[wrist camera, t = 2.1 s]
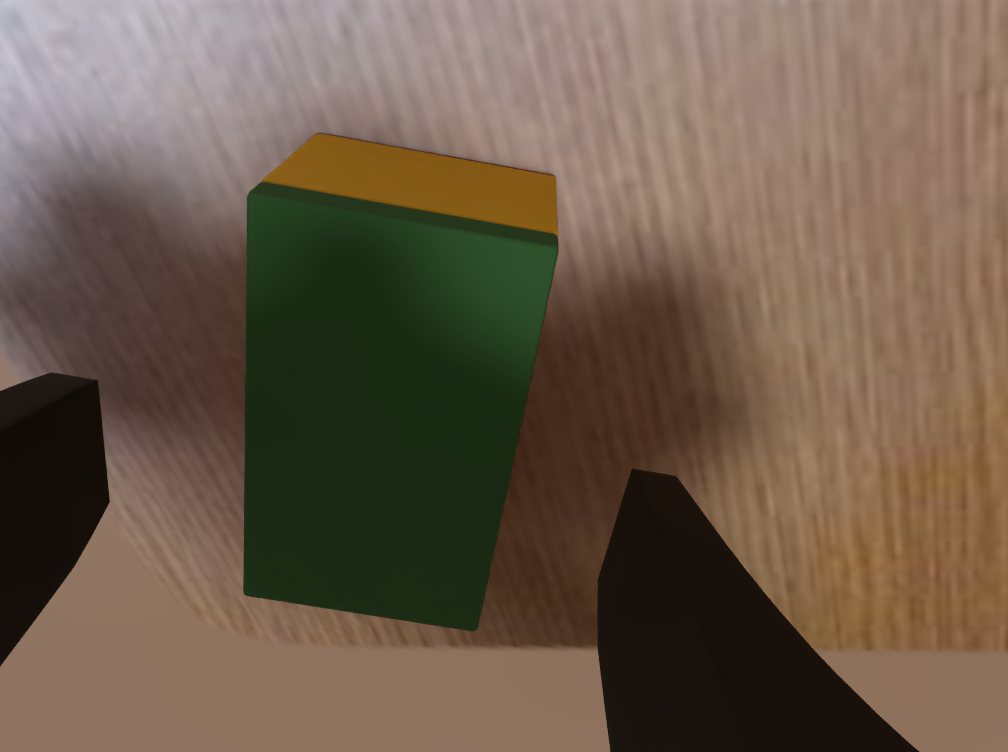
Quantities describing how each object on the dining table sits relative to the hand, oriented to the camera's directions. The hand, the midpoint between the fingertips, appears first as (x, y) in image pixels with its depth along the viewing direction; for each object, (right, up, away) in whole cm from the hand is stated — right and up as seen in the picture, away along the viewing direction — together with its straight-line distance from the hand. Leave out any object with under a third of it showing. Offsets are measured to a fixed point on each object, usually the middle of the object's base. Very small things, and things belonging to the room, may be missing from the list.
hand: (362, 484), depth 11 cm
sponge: (0, +2, +4) cm, 5 cm away
